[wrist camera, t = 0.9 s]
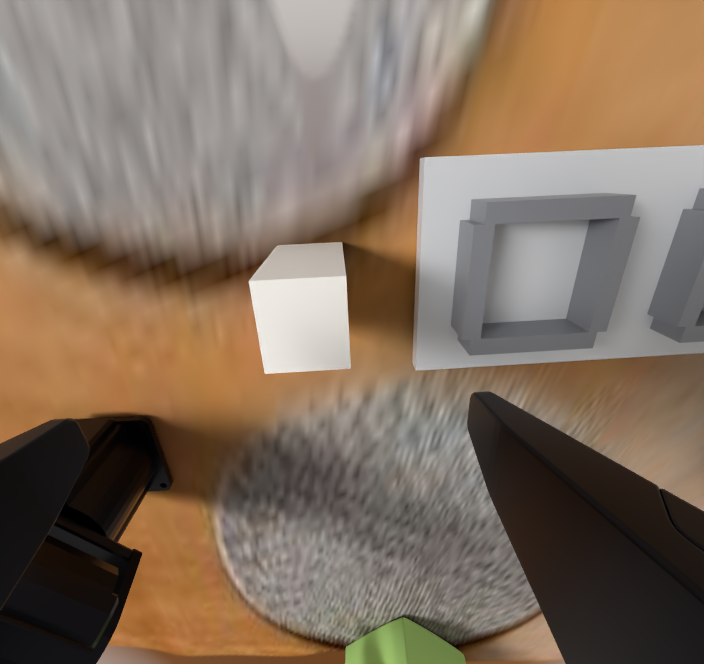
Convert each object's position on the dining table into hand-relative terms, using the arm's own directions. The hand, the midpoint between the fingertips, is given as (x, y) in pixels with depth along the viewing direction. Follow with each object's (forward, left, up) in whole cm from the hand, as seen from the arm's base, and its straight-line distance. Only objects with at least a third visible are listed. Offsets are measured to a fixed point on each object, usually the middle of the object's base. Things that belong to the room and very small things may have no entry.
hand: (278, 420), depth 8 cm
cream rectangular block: (0, 0, -13) cm, 13 cm away
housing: (0, -18, -13) cm, 22 cm away
